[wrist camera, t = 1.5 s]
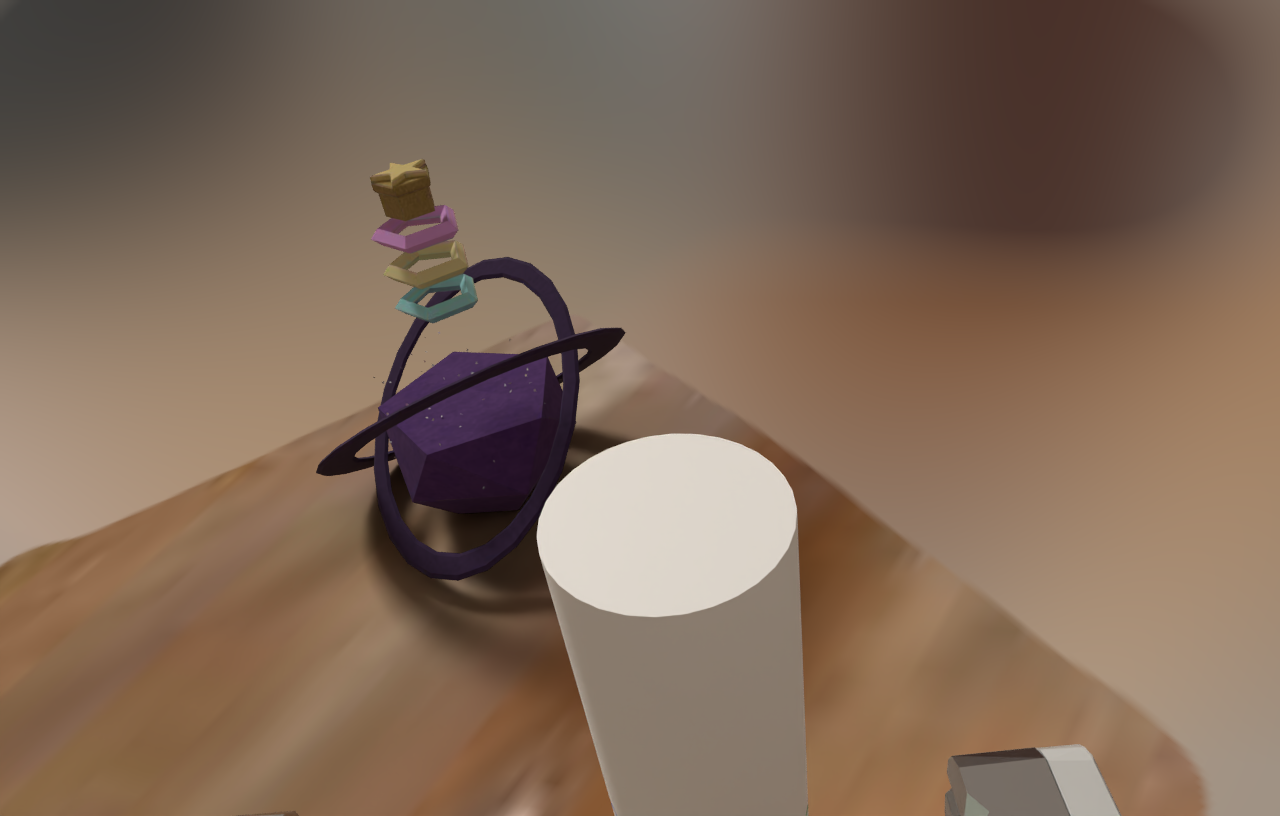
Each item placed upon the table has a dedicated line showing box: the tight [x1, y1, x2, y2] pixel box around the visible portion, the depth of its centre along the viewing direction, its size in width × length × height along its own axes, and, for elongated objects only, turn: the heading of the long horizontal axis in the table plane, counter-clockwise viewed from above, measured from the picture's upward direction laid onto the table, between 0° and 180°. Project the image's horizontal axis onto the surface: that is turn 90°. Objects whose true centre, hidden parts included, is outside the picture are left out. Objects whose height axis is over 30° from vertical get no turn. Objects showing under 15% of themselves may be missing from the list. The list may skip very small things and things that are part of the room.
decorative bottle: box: [316, 159, 625, 581], centre depth 58 cm, size 22×21×25 cm
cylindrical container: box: [537, 434, 808, 816], centre depth 31 cm, size 7×7×25 cm
